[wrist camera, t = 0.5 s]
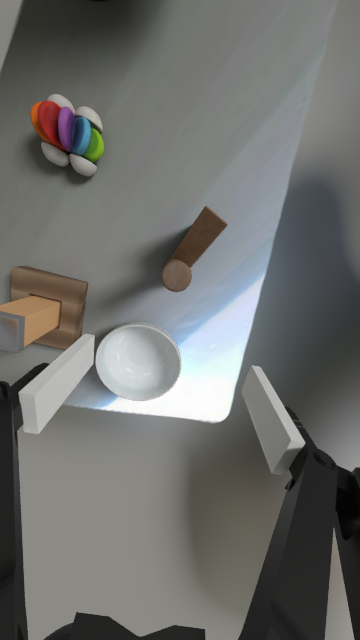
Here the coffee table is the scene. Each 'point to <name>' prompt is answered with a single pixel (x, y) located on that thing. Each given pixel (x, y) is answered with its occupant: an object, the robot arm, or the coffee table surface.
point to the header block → (57, 288)
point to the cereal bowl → (138, 361)
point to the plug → (27, 321)
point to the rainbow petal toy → (69, 133)
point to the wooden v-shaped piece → (191, 250)
